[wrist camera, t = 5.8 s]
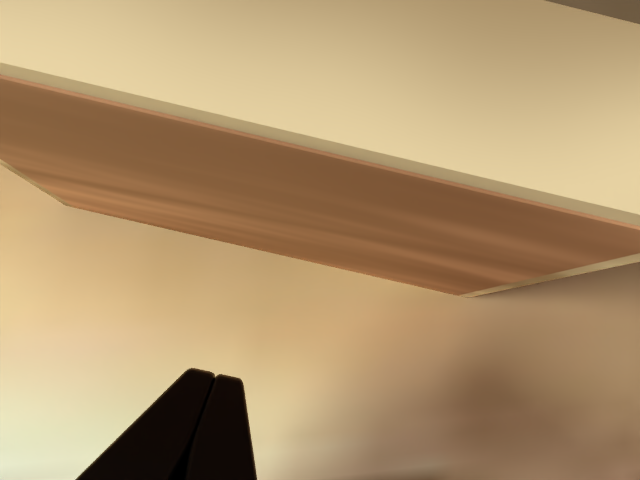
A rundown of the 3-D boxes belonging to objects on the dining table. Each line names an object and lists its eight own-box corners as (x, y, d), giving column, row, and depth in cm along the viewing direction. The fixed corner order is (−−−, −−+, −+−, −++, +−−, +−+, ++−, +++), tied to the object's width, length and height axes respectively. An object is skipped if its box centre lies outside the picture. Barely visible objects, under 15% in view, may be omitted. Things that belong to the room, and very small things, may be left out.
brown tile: (466, 299, 17) (743, 243, 7) (65, 207, 16) (-261, 4, 6) (480, 217, 17) (758, 54, 7) (91, 125, 17) (-175, -181, 7)
